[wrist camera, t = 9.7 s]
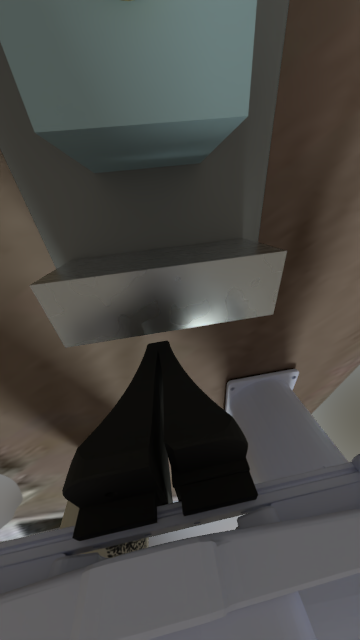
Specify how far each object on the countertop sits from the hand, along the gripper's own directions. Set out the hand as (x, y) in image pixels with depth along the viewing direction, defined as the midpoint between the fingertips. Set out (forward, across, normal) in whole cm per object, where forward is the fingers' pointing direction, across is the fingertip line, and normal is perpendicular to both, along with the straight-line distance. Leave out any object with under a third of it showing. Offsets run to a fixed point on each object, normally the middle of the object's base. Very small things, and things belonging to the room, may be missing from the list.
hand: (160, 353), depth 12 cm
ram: (+2, -1, -5) cm, 5 cm away
